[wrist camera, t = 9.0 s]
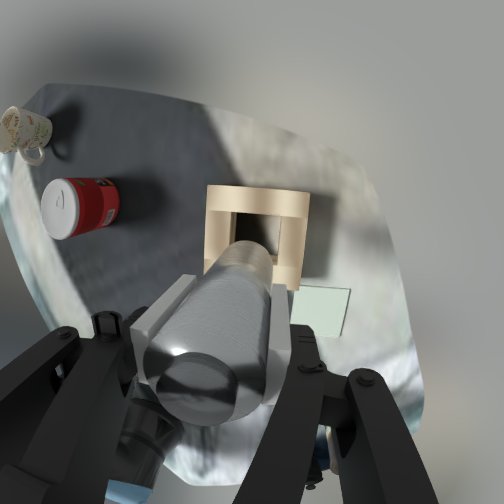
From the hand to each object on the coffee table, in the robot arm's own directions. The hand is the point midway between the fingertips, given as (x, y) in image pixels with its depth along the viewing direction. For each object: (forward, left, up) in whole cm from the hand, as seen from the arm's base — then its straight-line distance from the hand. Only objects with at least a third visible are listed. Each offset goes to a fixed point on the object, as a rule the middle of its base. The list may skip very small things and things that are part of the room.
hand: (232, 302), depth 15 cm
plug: (0, 0, -7) cm, 7 cm away
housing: (0, 0, -23) cm, 23 cm away
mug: (-41, +15, -23) cm, 50 cm away
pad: (+10, -11, -23) cm, 27 cm away
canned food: (-25, +3, -23) cm, 34 cm away
